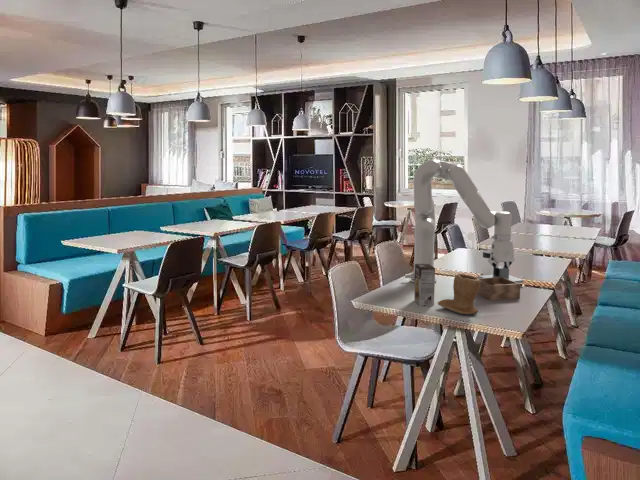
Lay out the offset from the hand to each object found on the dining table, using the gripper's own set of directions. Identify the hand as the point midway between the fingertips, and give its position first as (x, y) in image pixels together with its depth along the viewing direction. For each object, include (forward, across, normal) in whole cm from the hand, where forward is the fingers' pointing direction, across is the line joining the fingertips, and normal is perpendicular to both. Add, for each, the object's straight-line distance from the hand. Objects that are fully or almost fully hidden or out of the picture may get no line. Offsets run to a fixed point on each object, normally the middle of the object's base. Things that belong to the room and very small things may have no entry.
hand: (500, 275), depth 258 cm
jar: (+5, +8, +22) cm, 24 cm away
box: (+5, -14, -19) cm, 24 cm away
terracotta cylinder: (+4, -11, -16) cm, 20 cm away
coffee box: (+5, -49, -20) cm, 53 cm away
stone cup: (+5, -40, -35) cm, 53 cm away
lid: (+2, 0, 0) cm, 2 cm away
